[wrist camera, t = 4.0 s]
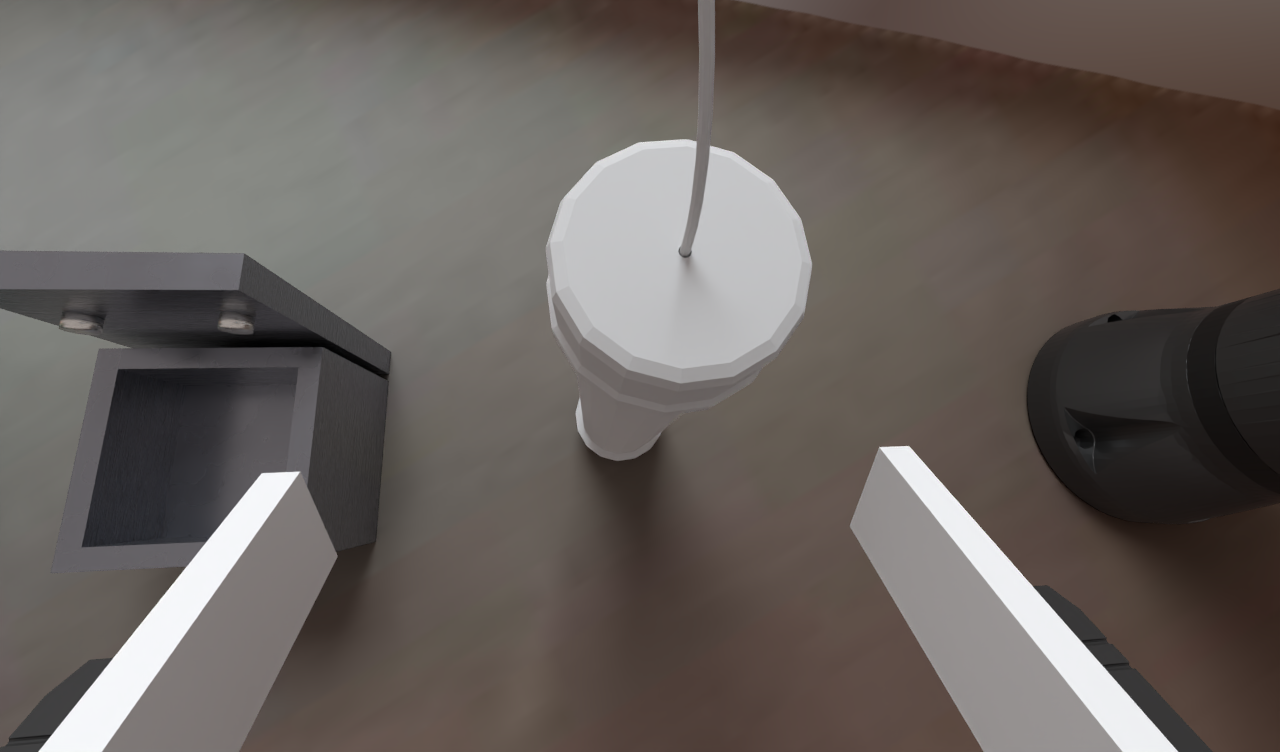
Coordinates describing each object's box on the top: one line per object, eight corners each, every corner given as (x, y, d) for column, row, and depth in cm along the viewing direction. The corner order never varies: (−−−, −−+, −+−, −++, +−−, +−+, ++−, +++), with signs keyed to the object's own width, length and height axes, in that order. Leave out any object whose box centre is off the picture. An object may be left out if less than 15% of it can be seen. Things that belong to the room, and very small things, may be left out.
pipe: (592, 474, 32) (594, 341, 3) (562, 385, 33) (331, -399, 4) (670, 446, 33) (1314, 112, 4) (638, 360, 34) (931, -430, 5)
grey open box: (375, 541, 30) (192, 587, 16) (197, 549, 29) (-160, 606, 15) (390, 351, 32) (244, 253, 19) (228, 353, 31) (-53, 250, 18)
